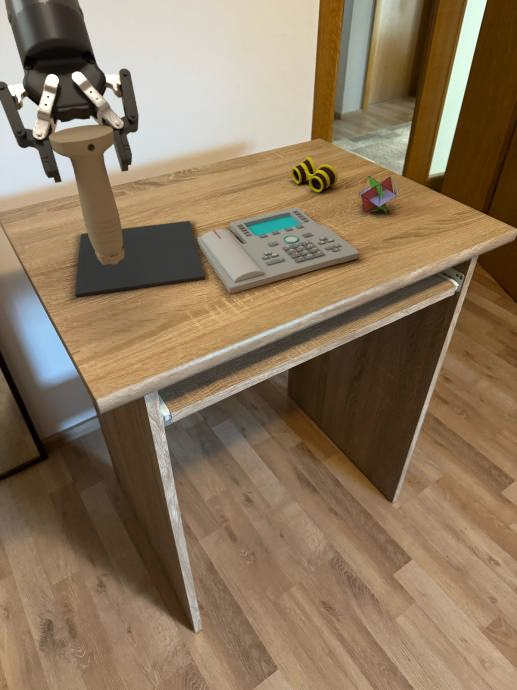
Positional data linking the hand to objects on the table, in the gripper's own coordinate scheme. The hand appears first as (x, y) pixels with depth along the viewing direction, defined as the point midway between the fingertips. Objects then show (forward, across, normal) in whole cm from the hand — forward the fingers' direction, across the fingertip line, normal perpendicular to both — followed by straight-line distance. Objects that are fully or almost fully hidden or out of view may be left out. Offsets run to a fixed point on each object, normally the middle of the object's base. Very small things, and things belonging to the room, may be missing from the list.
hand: (91, 173), depth 51 cm
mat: (+1, -6, -32) cm, 32 cm away
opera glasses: (-9, -47, -42) cm, 63 cm away
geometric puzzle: (+2, -52, -30) cm, 60 cm away
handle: (+7, 0, -9) cm, 12 cm away
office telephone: (+6, -27, -27) cm, 39 cm away
